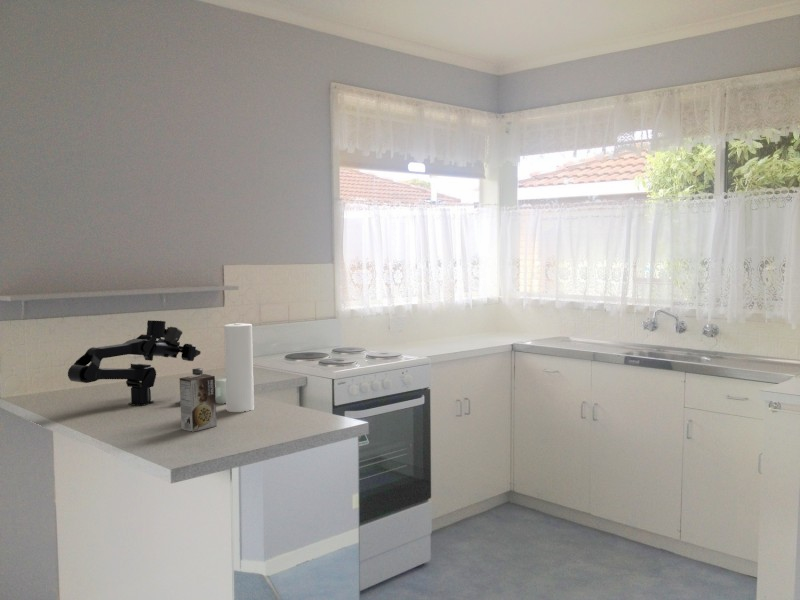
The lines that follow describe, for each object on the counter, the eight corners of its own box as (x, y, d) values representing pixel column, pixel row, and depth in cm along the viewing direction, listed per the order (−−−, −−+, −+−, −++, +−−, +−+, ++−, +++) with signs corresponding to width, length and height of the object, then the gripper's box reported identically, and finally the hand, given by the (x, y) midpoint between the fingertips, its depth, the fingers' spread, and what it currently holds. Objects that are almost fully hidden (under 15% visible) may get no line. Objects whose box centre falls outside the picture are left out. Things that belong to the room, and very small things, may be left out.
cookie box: (205, 423, 232) (203, 373, 231) (217, 426, 228) (215, 375, 227) (180, 429, 225) (178, 377, 224) (192, 432, 221) (190, 379, 220)
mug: (224, 405, 260) (223, 383, 259) (208, 403, 263) (207, 382, 262) (239, 400, 268) (238, 379, 268) (223, 399, 271) (223, 378, 270)
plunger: (198, 388, 265) (198, 370, 264) (190, 387, 266) (190, 369, 266) (205, 386, 268) (204, 368, 268) (197, 385, 270) (196, 368, 269)
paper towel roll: (247, 412, 247) (245, 324, 245) (221, 411, 249) (219, 324, 247) (258, 406, 257) (256, 322, 255) (233, 406, 258) (231, 322, 256)
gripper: (181, 330, 267) (212, 333, 281) (147, 324, 277) (178, 327, 290) (176, 360, 267) (207, 362, 280) (142, 353, 276) (174, 355, 290)
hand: (191, 351), depth 285 cm, fingers open, 9 cm apart
